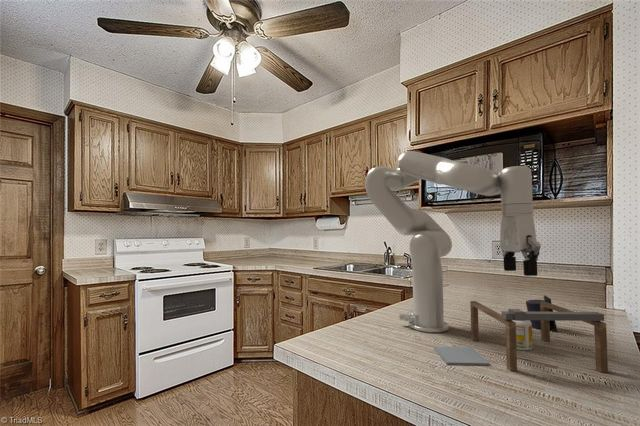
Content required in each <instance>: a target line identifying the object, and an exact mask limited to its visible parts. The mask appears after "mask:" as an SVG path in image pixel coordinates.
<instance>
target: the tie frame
mask: <svg viewBox="0 0 640 426" xmlns="http://www.w3.org/2000/svg"><path fill="white" fill-rule="evenodd" d="M469 302H470V303H469V304H470V334H471V337H470V338H471V340H472V341H476V342H479V341H480V339H479V338H480V336H479V335H480V334H479V330H480V329H479V311H481V312H483V313H485V314H486V315H487V316H489V317H491V318H493V319H495V320H496V321H498V322H500V323H502V324H503V325H505V344H506V345H505V347H506V349H505V350H506V351H505V352H506V369H507V370H508V371H509V372H518V359H517V357H518V353H517V351H518V349H517V348H516V322H514V321H512V320H505V319H503V318H502V314H501V313H499V312H497V311H495V310H493V309H491V308H489V307H487V306H485V305H484V304H482V303H480V302H479V301H476V300H470V301H469ZM551 303H552V302H551ZM551 303H548V302H540V312H549V309H552V310H553V311H554V312H574V311H573V310H571V309H567V308H564V307H562V306H558V305H556V304H553V303H552V304H551ZM582 322H583V323H586V324H588V325H592V326H593V330H594V331H593V334H594V355H595V359H594V360H595V361H594V362H595V370H596V371H598V372H599V373H601V374H603V373H605V374H607V373H609V365H608V364H609V362H608V361H609V360H608V358H609V357H608V356H609V355H608V339H607V338H608V337H607V335H608V334H607V332H608V331H607V323H606V322H604V321H582ZM550 329H551V328H550V324H549V320H541V329H540V337H541V338H540V339H541V341H543V342H547V343H548V342H551V330H550Z"/></svg>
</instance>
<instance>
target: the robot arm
mask: <svg viewBox="0 0 640 426" xmlns="http://www.w3.org/2000/svg"><path fill="white" fill-rule="evenodd" d="M532 178H533V177H532V170H531V168H530V167H529V166H526V165H516V166H514V165H513V166H509V167H505V168H503V169H501V171H500V170H499V171H495V170H491V169H489V168H486V167H482V166H478V165H475V164H470V163H466V162H460V161H457V160H452V159H449V158H446V157H442V156H438V155H433V154H428V153H424V152H420V151H416V150H407V151H404V152H402V153H401V154H400V155H399V156H398V158H397V168H392V167H388V166H380V165H379V166H374V167H373V168H371V169H370V170H369V171H368V172H367V173H366V177H365V183H364V184H365V186H364V187H365V191H366V194H367V196H368V198H369V200H370V201H371V203H372V204H373V205H374V206H375V207H376V208H377V209H378V211H379V212H381V214H382V216H384V218H386V220H387V221H388V222H389V224H390V225H392V227H393V228H394V230H395V231H397V232H398V234H400V235H403V236H412V237H411V239H410V242H409V254H410V257H411V258H410V259H411V269H412V307H413V308H412V310H410V312H408V313H399V314H398V320H403V321H404V322H408V326H409V327H410V328H412V329H414V330H417V331H420V332H425V333H443V332H447V331H449V330H450V325H449V323H448V322H446V321H444V320H445V318H444V316H445V315H444V314H445V313H444V310H445V309H444V273H443V266H442V262H441V258H443V257H446V256H447V255H449V254H450V252H451V251H452V247H453V242H452V239H451V237H450V235H449V234H448V233H447V231H445V229H443V228H442V226H441V225H440V224H439V223H437V221H436V220H434V219H433V217H431V216H430V215H429V214H428V213H427V212H426V211H424V210H421V209H418V208H417V209H416V208H411V207H410V206H408V205H407V204H406V203H405V201H403V200H402V198H400V197H399V195H397V194H396V193H395V192H397V191H398V192H399V191H401V190H403V189H406V188H408V187H409V186H411V185H413V184H415V183H417V182H418V181H420V180H425V181H427V182H431V183H433V184H436V185H445V186H448V187H452V188H455V189H458V190H462V191H465V192H469V193H472V194H477V195H481V196H485V197H492V196H497V195H500V202H501V203H500V205H501V206H500V207H501V221H500V231H499V233H500V235H499V236H500V237H499V240H500V241H499V243H500V244H499V246H500V247H499V248H500V250H501V252H502V254H501V256H502V257H503V270H504V271H505V272H512V271H513V272H515V271H517V258H516V256H515V254H516V253H521V254H522V257H523V258H524V259H523V260H522V261H523V262H522V264H523V265H522V267H523V276H526V277H536V276H538V260H539V255H540V250H541V246H542V245H541V243H540V242H539V241H537V234H536V226H535V225H536V224H535V221H534V220H535V219H534V204H533V203H534V201H533V200H534V198H533V197H534V196H533V184H532V183H533V179H532Z"/></svg>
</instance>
